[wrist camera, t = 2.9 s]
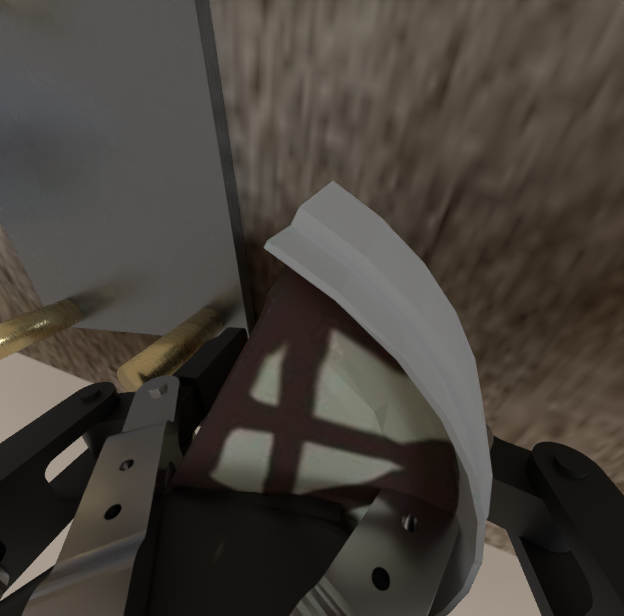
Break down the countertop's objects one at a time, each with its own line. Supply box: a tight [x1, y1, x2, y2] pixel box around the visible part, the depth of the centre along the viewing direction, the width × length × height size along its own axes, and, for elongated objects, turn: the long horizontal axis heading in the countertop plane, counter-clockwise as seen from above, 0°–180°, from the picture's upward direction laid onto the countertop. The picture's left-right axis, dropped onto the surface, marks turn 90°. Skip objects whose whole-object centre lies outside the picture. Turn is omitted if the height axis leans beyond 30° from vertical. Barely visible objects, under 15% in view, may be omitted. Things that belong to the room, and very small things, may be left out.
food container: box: [167, 181, 493, 616], centre depth 10 cm, size 12×6×10 cm, turn 150°
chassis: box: [0, 0, 256, 392], centre depth 11 cm, size 14×18×6 cm
